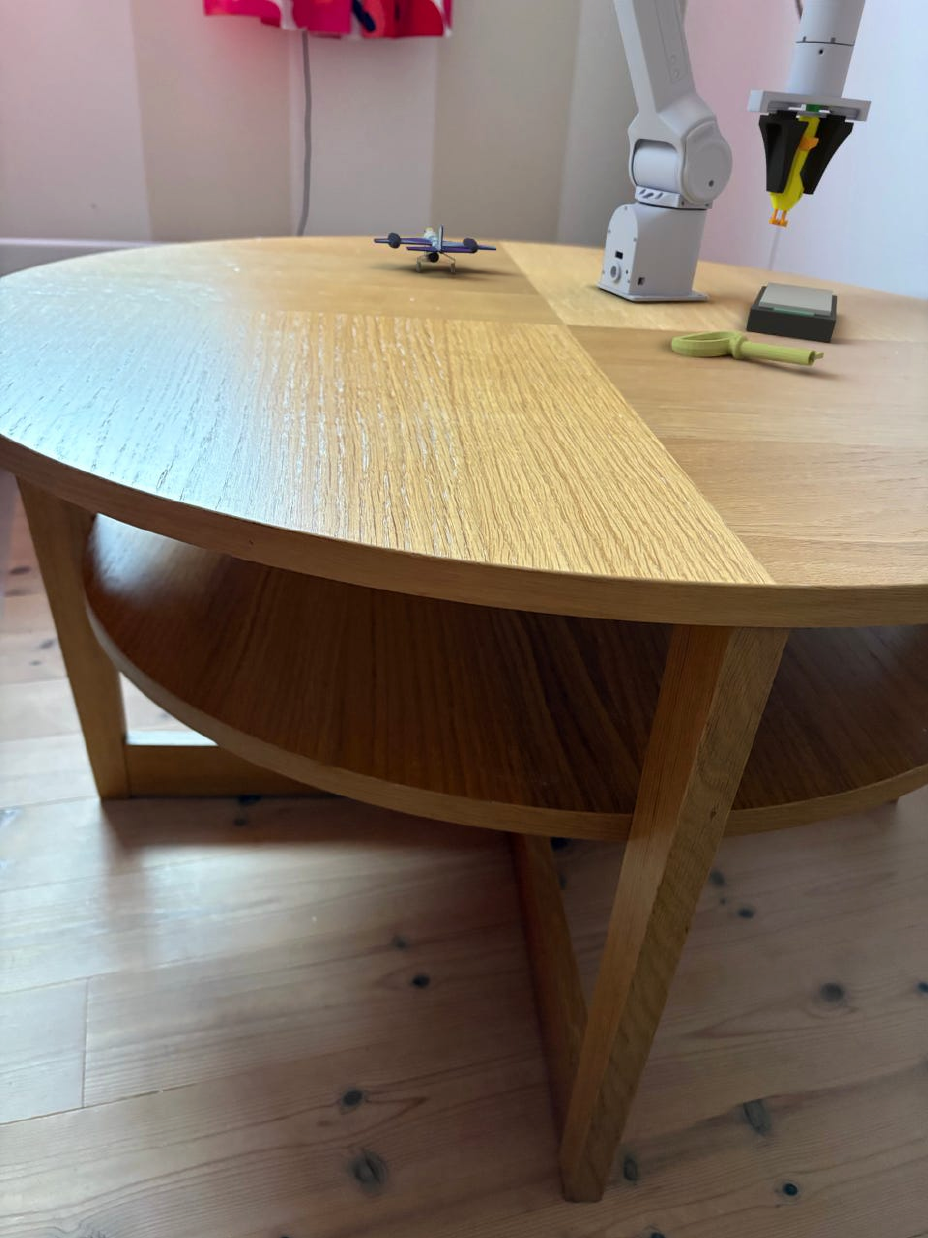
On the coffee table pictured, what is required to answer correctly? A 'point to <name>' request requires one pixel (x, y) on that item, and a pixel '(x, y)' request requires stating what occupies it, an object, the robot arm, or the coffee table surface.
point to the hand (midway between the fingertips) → (789, 192)
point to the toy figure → (796, 170)
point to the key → (740, 348)
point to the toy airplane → (434, 246)
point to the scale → (794, 312)
